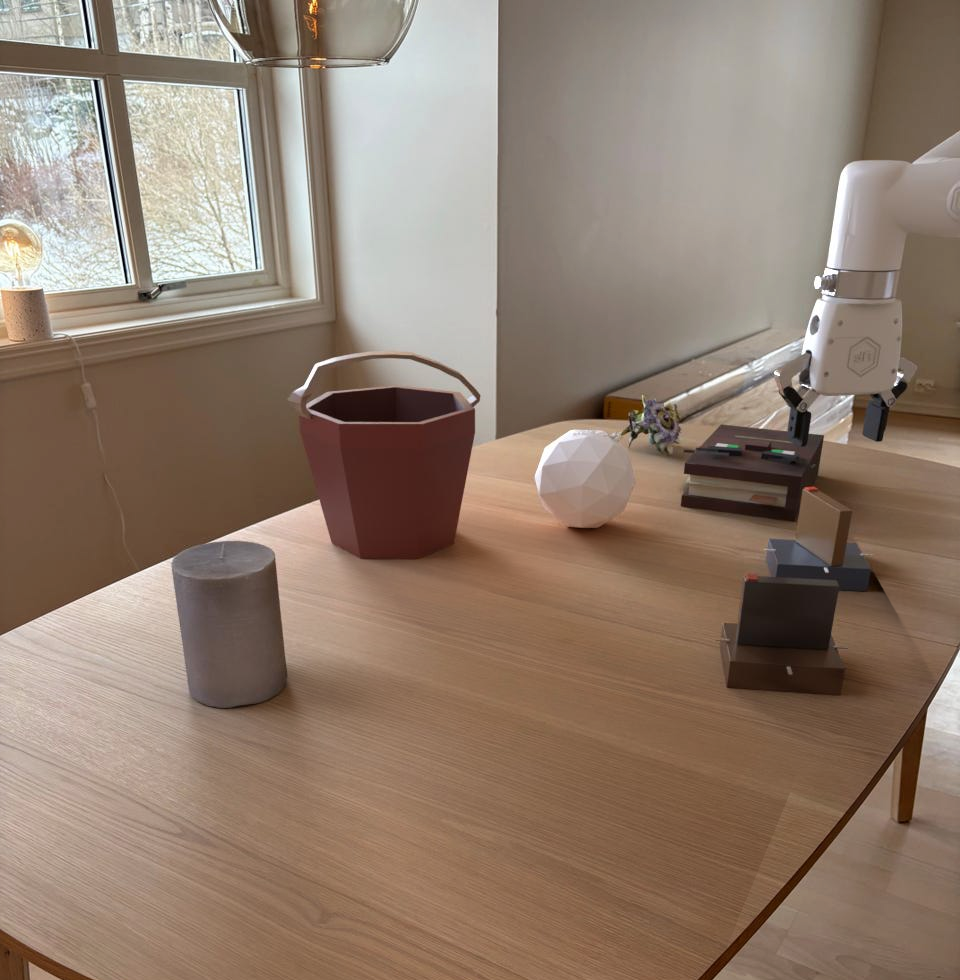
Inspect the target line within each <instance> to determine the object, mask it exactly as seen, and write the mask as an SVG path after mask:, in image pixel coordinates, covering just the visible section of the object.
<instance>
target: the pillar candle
mask: <svg viewBox="0 0 960 980" xmlns="http://www.w3.org/2000/svg"><path fill="white" fill-rule="evenodd" d="M170 565H171V566H170V567H171V574H172V581H173V588H174V595H175V603H176V608H177V617H178V622H179V629H180V636H181V644H182V649H183V657H184V658H183V659H184V665H185V671H186V680H187V687H188V692H189V695H190V696H191V697H192V698H193V699H194V700H195V701H196V702H198V703H200V704H203V705H206V706H208V707H214V708H218V709H225V708H228V709H229V708H233V707H238V706H245V705H246V706H247V705H254V704H255V705H256V704H260V703H263V702H266V701H268V700H270V699H272V698H274V697H275V696H277V695H279V694H280V693H281V692H282V691H283V689H284V688H285V686H286V684H287V678H288V676H289V675H288V668H287V659H286V651H285V641H284V630H283V622H282V612H281V611H282V610H281V601H280V593H279V580H278V572H277V561H276V554H275V551H274V550H273V549H272V548H270V547H268V546H267V545H265V544H262V543H258V542H254V541H246V540H245V541H244V540H221V541H212V542H207V543H206V542H205V543H200V544H198V545H194V546H191V547H188V548H186V549H184V550H183V551H181V552H179V553H177V554H176V555H174V557H173V559H172V560H171V563H170Z"/></svg>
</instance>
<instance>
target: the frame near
mask: <svg viewBox="0 0 960 980" xmlns="http://www.w3.org/2000/svg"><path fill="white" fill-rule="evenodd" d="M839 592H840V590H839V585H838V583H837V581H836V580H820V579H801V578H783V577H771V576H761V575H757V574H756V573H745V575H743V579H742V586H741V594H740V601H739V608H738V609H739V610H738V616H737V617H738V618H737V632H736V641H737V644H739V645H755V646H771V647H787V648H803V649H819V650H828V648H829V643H830V637H831V635H832V631H833V625H834V620H835V614H836V609H837V604H838V603H837V602H838V597H839Z"/></svg>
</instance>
